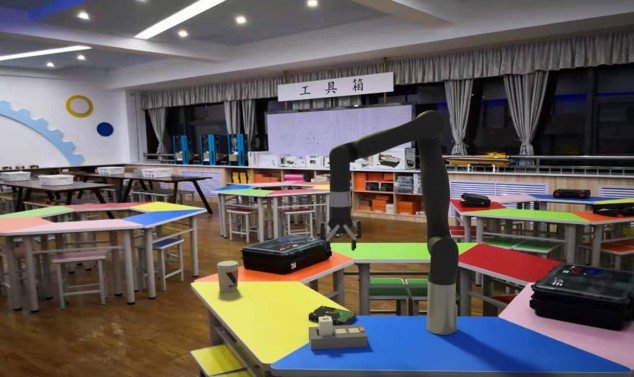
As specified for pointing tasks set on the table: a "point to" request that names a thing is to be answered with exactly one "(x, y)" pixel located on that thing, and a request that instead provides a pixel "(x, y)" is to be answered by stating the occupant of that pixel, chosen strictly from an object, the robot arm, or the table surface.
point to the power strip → (338, 337)
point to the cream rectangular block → (325, 326)
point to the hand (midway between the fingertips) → (340, 250)
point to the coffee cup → (228, 276)
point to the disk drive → (333, 315)
